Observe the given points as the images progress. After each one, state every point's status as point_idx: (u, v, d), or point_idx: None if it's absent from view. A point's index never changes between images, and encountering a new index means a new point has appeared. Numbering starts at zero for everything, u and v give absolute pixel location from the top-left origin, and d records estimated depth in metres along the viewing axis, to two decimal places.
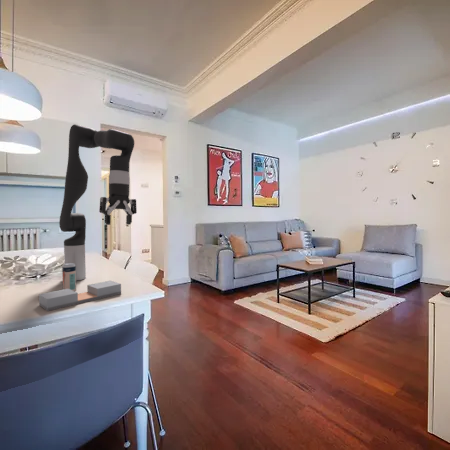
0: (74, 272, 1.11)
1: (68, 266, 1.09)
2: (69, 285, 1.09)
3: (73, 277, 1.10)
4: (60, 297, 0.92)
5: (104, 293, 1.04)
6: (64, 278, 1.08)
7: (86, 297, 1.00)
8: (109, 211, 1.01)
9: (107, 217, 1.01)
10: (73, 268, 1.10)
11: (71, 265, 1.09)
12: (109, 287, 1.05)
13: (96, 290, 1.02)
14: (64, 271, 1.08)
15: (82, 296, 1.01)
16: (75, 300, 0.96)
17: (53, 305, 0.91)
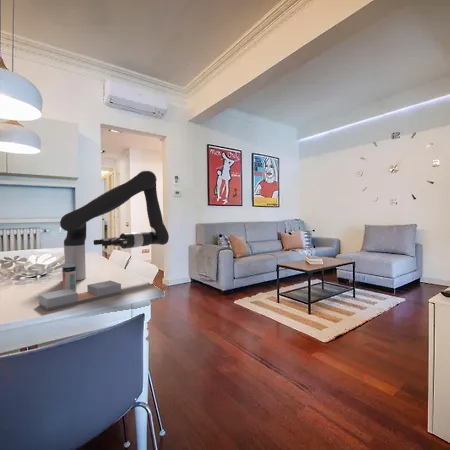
0: (74, 272, 1.11)
1: (68, 266, 1.09)
2: (69, 285, 1.09)
3: (73, 277, 1.10)
4: (60, 297, 0.92)
5: (104, 293, 1.04)
6: (64, 278, 1.08)
7: (86, 297, 1.00)
8: (113, 245, 1.20)
9: (109, 244, 1.18)
10: (73, 268, 1.10)
11: (71, 265, 1.09)
12: (109, 287, 1.05)
13: (96, 290, 1.02)
14: (64, 271, 1.08)
15: (82, 296, 1.01)
16: (75, 300, 0.96)
17: (53, 305, 0.91)
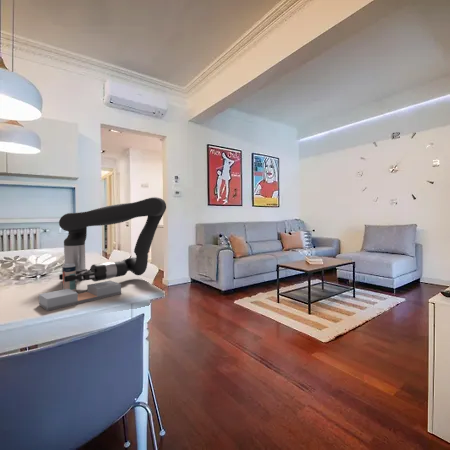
0: (74, 272, 1.11)
1: (68, 266, 1.09)
2: (69, 285, 1.09)
3: None
4: (60, 297, 0.92)
5: (104, 293, 1.04)
6: None
7: (86, 297, 1.00)
8: None
9: (72, 280, 1.09)
10: (73, 268, 1.10)
11: (71, 265, 1.09)
12: (109, 287, 1.05)
13: (96, 290, 1.02)
14: (64, 271, 1.08)
15: (82, 296, 1.01)
16: (75, 300, 0.96)
17: (53, 305, 0.91)
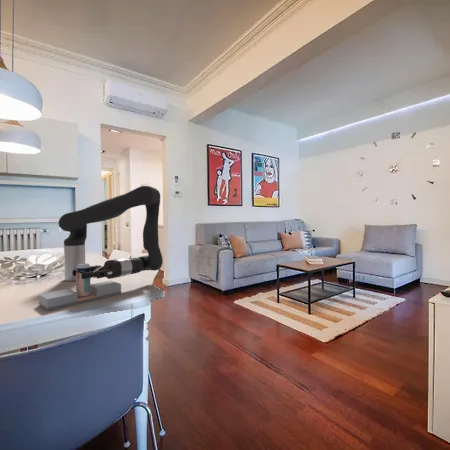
0: None
1: (83, 267, 1.00)
2: (83, 287, 1.00)
3: (88, 279, 1.01)
4: (60, 297, 0.92)
5: (104, 293, 1.04)
6: (78, 280, 1.00)
7: (86, 297, 1.00)
8: (96, 277, 1.01)
9: (90, 277, 0.99)
10: (88, 269, 1.01)
11: (86, 266, 1.01)
12: (109, 287, 1.05)
13: (96, 290, 1.02)
14: (78, 272, 1.00)
15: None
16: (75, 300, 0.96)
17: (53, 305, 0.91)
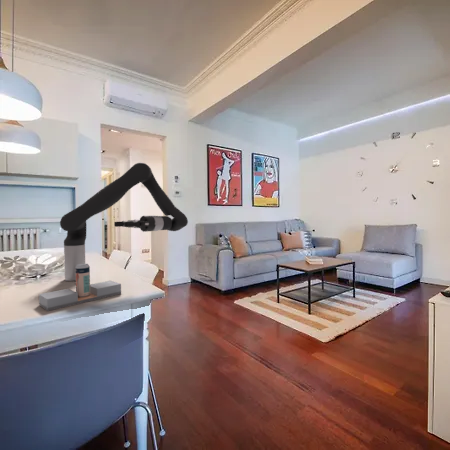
0: (88, 273, 1.02)
1: (82, 267, 1.00)
2: (83, 288, 1.00)
3: (87, 279, 1.01)
4: (60, 297, 0.92)
5: (104, 293, 1.04)
6: (78, 280, 1.00)
7: (86, 297, 1.00)
8: (135, 226, 1.17)
9: (131, 226, 1.15)
10: (87, 269, 1.01)
11: (85, 266, 1.01)
12: (109, 287, 1.05)
13: (96, 290, 1.02)
14: (78, 272, 1.00)
15: None
16: (75, 300, 0.96)
17: (53, 305, 0.91)
